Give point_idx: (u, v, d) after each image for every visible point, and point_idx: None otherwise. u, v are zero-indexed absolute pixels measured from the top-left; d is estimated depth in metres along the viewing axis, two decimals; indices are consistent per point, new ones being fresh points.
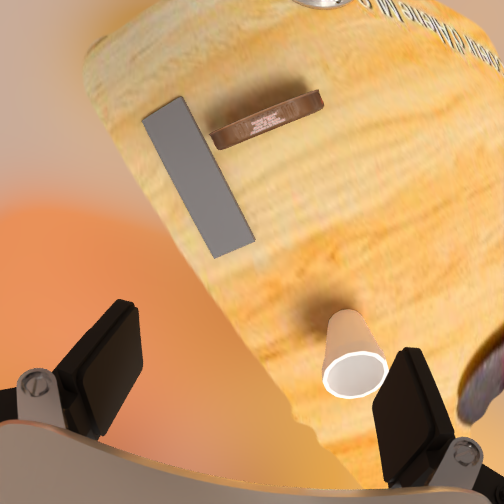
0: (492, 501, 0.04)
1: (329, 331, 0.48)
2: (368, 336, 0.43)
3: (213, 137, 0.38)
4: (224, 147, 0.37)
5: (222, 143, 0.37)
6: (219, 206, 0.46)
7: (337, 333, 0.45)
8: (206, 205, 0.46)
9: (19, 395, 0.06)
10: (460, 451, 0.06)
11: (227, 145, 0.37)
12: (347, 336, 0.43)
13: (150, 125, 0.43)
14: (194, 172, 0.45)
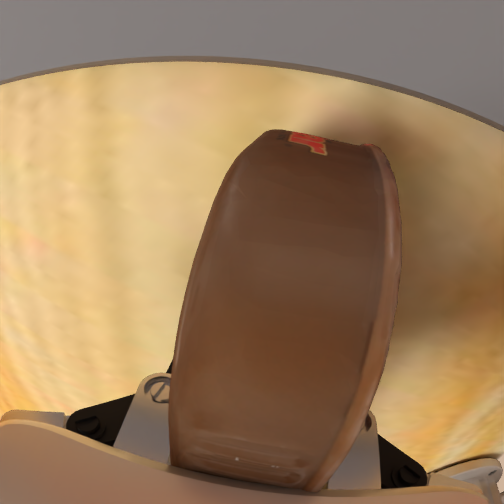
0: (387, 479, 0.06)
1: None
2: None
3: (354, 193, 0.04)
4: (207, 250, 0.04)
5: (252, 270, 0.04)
6: (88, 7, 0.08)
7: None
8: None
9: (147, 404, 0.07)
10: None
11: (200, 307, 0.04)
12: None
13: None
14: None
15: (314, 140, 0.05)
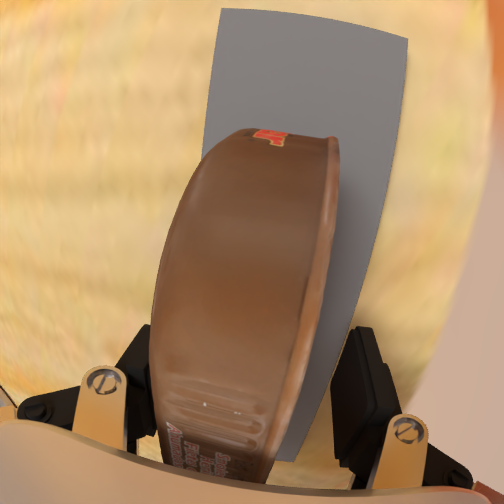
0: (439, 484, 0.05)
1: None
2: None
3: (300, 175, 0.05)
4: (178, 223, 0.05)
5: (210, 236, 0.05)
6: None
7: None
8: None
9: (87, 394, 0.06)
10: (401, 429, 0.07)
11: (170, 266, 0.05)
12: None
13: (284, 450, 0.17)
14: None
15: (276, 135, 0.06)
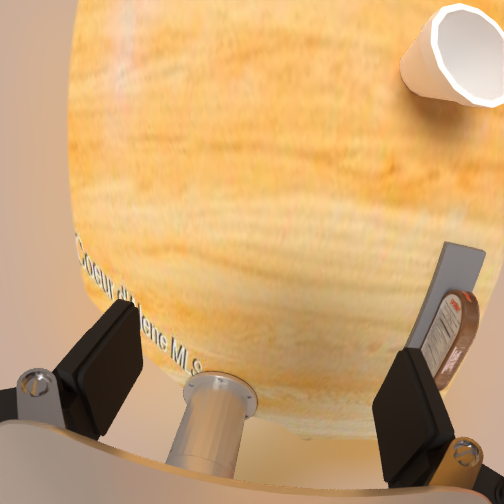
0: (492, 501, 0.04)
1: None
2: (424, 75, 0.22)
3: (475, 308, 0.31)
4: (464, 316, 0.31)
5: (468, 318, 0.30)
6: (444, 294, 0.37)
7: None
8: None
9: (19, 395, 0.06)
10: (460, 451, 0.06)
11: (464, 322, 0.30)
12: (449, 99, 0.22)
13: None
14: None
15: (468, 298, 0.32)
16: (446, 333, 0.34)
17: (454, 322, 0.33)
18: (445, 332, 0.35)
